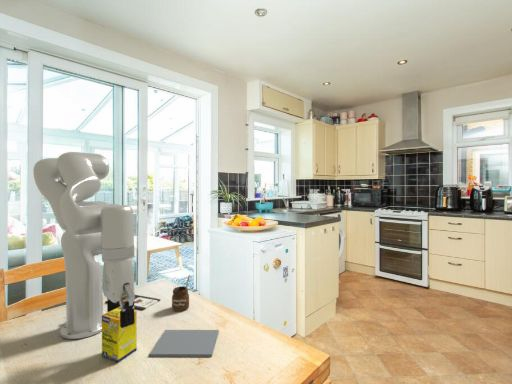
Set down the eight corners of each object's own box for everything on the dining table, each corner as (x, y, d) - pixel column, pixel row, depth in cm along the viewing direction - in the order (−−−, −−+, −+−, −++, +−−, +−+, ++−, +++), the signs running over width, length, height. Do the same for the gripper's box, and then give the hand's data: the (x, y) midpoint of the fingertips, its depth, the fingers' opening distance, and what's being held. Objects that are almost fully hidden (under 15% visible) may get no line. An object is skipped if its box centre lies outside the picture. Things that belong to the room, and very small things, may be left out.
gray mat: (149, 356, 71) (149, 354, 71) (165, 331, 83) (165, 329, 83) (211, 356, 71) (211, 354, 71) (218, 331, 83) (218, 329, 83)
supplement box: (101, 357, 71) (100, 315, 71) (121, 345, 76) (120, 305, 76) (118, 363, 68) (117, 319, 68) (137, 350, 74) (136, 309, 74)
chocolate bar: (124, 292, 112) (160, 299, 106) (124, 295, 112) (160, 301, 106) (105, 301, 104) (142, 309, 98) (105, 304, 104) (142, 311, 98)
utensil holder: (175, 304, 102) (174, 272, 102) (192, 304, 102) (191, 272, 102) (169, 312, 96) (169, 277, 96) (187, 312, 96) (187, 277, 96)
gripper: (92, 251, 75) (94, 314, 75) (114, 261, 63) (116, 337, 63) (121, 246, 80) (123, 305, 80) (146, 255, 68) (149, 325, 68)
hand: (120, 319), depth 72 cm, fingers open, 9 cm apart
